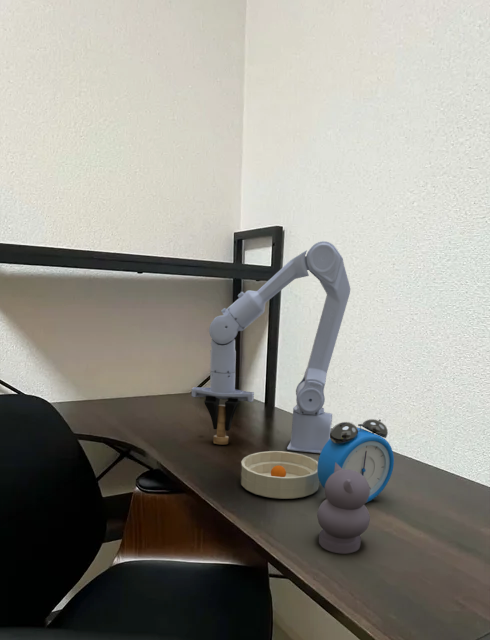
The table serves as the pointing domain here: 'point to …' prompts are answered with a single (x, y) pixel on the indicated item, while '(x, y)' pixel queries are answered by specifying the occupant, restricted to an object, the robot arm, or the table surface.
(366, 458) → the alarm clock
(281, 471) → the ball
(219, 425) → the muddler
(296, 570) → the table surface
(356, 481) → the cat figurine
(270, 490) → the bowl
